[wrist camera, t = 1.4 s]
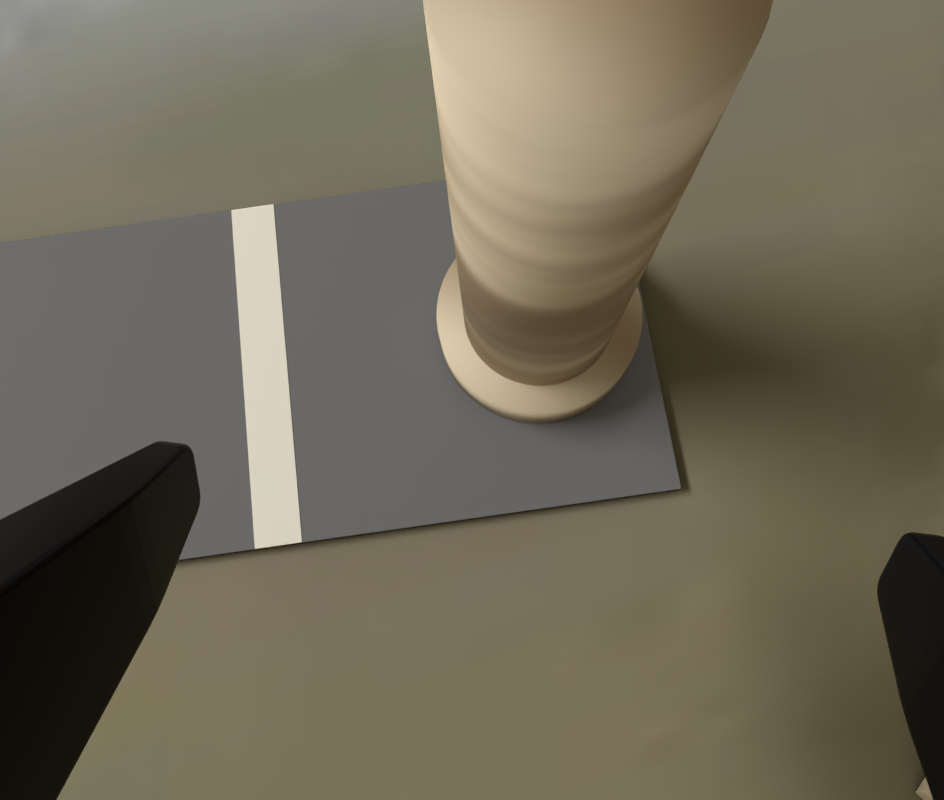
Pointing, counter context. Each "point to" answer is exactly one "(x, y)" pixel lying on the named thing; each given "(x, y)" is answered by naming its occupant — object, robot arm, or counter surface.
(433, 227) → the mat
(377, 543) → the counter surface
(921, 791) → the decorative ornament
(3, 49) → the counter surface
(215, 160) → the counter surface
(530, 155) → the beech pin
